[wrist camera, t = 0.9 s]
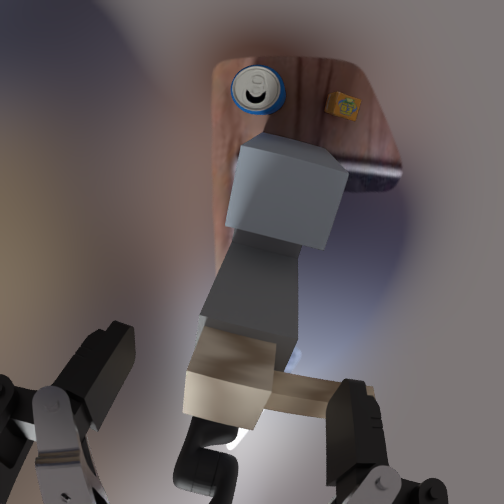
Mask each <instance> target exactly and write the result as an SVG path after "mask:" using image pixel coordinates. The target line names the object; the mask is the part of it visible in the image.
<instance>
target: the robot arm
mask: <svg viewBox="0 0 504 504" xmlns="http://www.w3.org/2000/svg"><path fill="white" fill-rule="evenodd" d="M134 337H135V336H134V328H133V327H132V326H130V325H127V324H124V323H121V322H118V321H116V320H115V321H113V322H112V323H111V325H110V326H109V327H108V328H107V330H106V331H104V330H101V329H98V330H97V331H95V332H93V333H92V334H90V335H88V337H87V338H86V339H85V340H84V342H83V343H82V345H81V347H79V349H78V350H77V351H76V353H75V355H73V357H72V358H71V359H70V361H69V362H68V363H67V365H66V366H65V368H64V369H63V370H62V372H61V373H60V375H59V376H58V378H57V379H56V380H55V382H54V383H53V384H52V385H51V386H45V387H43V388H40V389H39V390H30V389H25V388H21V387H17V386H14V385H13V383H12V381H11V380H10V379H9V378H8V377H7V376H5V375H2V374H0V504H6V502H7V499H8V497H9V495H10V492H11V490H12V487H13V485H14V483H15V480H16V478H17V476H18V473H19V471H20V469H21V467H22V465H23V463H24V460H25V459H26V456H27V454H28V452H29V450H30V448H31V446H32V444H33V442H34V441H37V447H38V457H37V458H36V459H35V468H36V473H37V478H38V483H39V487H40V491H41V495H42V499H43V503H44V504H110V502H109V500H108V497H107V495H106V492H105V490H104V488H103V486H102V484H101V481H100V479H99V476H98V473H97V470H96V467H95V464H94V460H93V457H92V453H91V450H90V446H89V442H88V439H87V435H86V433H87V431H88V429H89V428H91V429H93V430H95V431H97V432H98V431H99V429H100V427H101V425H102V422H103V421H104V419H105V417H106V415H107V413H108V411H109V409H110V408H111V406H112V404H113V402H114V400H115V398H116V396H117V394H118V392H119V391H120V389H121V387H122V385H123V383H124V381H125V379H126V378H127V376H128V374H129V372H130V370H131V369H132V366H133V364H134V361H135V355H136V354H135V353H136V352H135V338H134ZM238 428H239V427H235V426H231V425H226V424H222V423H218V422H214V421H210V420H206V419H203V418H199V417H195V416H193V417H192V420H191V423H190V427H189V430H188V433H187V436H186V439H185V441H184V444H183V447H182V449H181V452H180V454H179V457H178V459H177V462H176V465H175V468H174V472H173V482H174V485H175V486H176V487H178V488H180V489H183V490H186V491H190V492H194V493H198V494H202V495H206V496H210V497H213V498H212V500H211V501H210V503H209V504H232V500H233V496H234V492H235V487H236V482H237V477H238V462H237V460H236V458H235V457H234V456H232V455H230V454H227V453H223V452H220V453H219V452H218V451H214V450H210V449H205V448H204V447H206V446H210V445H221V444H227V443H230V442H232V441H233V440H235V438H236V436H237V433H238ZM382 428H383V424H382V420H381V413H380V407H379V405H378V403H377V402H376V400H375V398H374V396H372V395H367V390H366V385H365V382H364V381H359V380H353V379H344V380H343V381H342V383H341V384H340V386H339V387H338V388H337V390H336V391H335V393H334V394H333V396H332V397H331V399H330V400H329V402H328V405H327V408H326V455H327V457H326V462H327V463H326V464H327V465H326V466H327V467H326V472H327V473H326V478H327V479H326V486H336V495H335V496H334V497H333V498H332V499H331V501H330V502H329V503H328V504H448V495H447V489H446V486H445V485H444V484H443V482H442V481H440V480H439V479H436V478H429V479H427V480H425V481H424V482H422V483H417V482H413V481H409V480H405V479H402V478H400V475H399V474H398V472H397V471H396V470H395V469H393V468H391V467H389V464H388V458H387V451H386V444H385V438H384V431H383V429H382Z"/></svg>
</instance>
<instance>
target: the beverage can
mask: <svg viewBox="0 0 504 504" xmlns="http://www.w3.org/2000/svg"><path fill="white" fill-rule="evenodd" d="M231 95H232V98H233V101H234V102H235V104H236V105H237V106H238V107H239V108H240V109H241V110H243V111H245V112H247V113H250V114H256V115H267V114H272V113H274V112H276V111H278V110H279V109H280V108H281V107H282V105H283V104H284V102H285V98H286V91H285V87H284V83H283V80H282V78H281V77H280V75H279V74H278V73H277V72H276V71H275V70H274V69H272V68H270V67H268V66H264V65H251V66H248V67H245V68H243V69H242V70H240V71H239V72H238V73H237V74H236V76H235V77H234V79H233V81H232V84H231Z"/></svg>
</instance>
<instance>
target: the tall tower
mask: <svg viewBox="0 0 504 504" xmlns="http://www.w3.org/2000/svg"><path fill="white" fill-rule="evenodd" d="M301 247H302V245H300V244H296V243H292V242H288V241H284V240H280V239H276V238H272V237H269V236H265V235H261V234H257V233H253V232H249V231H245V230H241V229H236V228H235V229H234V234H233V239H232V243H231V245H230V247H229V250H228V252H227V254H226V256H225V259H224V261H223V263H222V265H221V267H220V270H219V272H218V274H217V276H216V279H215V281H214V283H213V286H212V288H211V290H210V293H209V294H208V297H207V299H206V301H205V304H204V306H203V308H202V310H201V313H200V315H199V323H198V330H197V337H196V344H195V348H196V345H197V343H198V340H199V338H200V335H201V332H202V330H203V327H204V326H207V327H211V328H214V329H218V330H222V331H226V332H230V333H233V334H237V335H241V336H245V337H249V338H254V339H258V340H262V341H266V342H271V343H275V344H276V354H275V364H274V370H275V371H280V372H284V370H285V367H286V365H287V363H288V361H289V359H290V356H291V354H292V352H293V349H294V347H295V345H296V343H297V340H298V256H299V253H300V250H301Z"/></svg>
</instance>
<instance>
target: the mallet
mask: <svg viewBox="0 0 504 504" xmlns="http://www.w3.org/2000/svg"><path fill="white" fill-rule="evenodd" d="M275 354H276V344H275V343H271V342H266V341H262V340H258V339H254V338H249V337H245V336H241V335H237V334H233V333H230V332H226V331H222V330H218V329H214V328H211V327H207V326H204V327H203V330H202V332H201V335H200V338H199V340H198V343H197V345H196V348H195V350H194V353H193V355H192V358H191V361H190V363H189V366H188V368H187V372H186V382H185V392H184V403H183V413H185V414H189V415H192V416H195V417H199V418H203V419H206V420H210V421H214V422H218V423H222V424H226V425H231V426H235V427H239V428H244V429H249V430H253V429H254V427H255V425H256V423H257V421H258V419H259V417H260V415H261V413H262V411H263V409H268V410H274V411H279V412H284V413H291V414H296V415H303V416H310V417H317V418H325V419H326V408H327V405H328V402H329V400H330V399H331V397H332V396H333V394H334V393H335V391H336V390H337V388H338V387H339V386H340V384H341V383H342V382H335V381H328V380H323V379H317V378H310V377H305V376H300V375H295V374H290V373H285V372H280V371H275V370H274V364H275ZM366 390H367V395H372V396H374V398H375V394H374V389H373V387H372V386H366ZM375 400H376V399H375Z"/></svg>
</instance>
